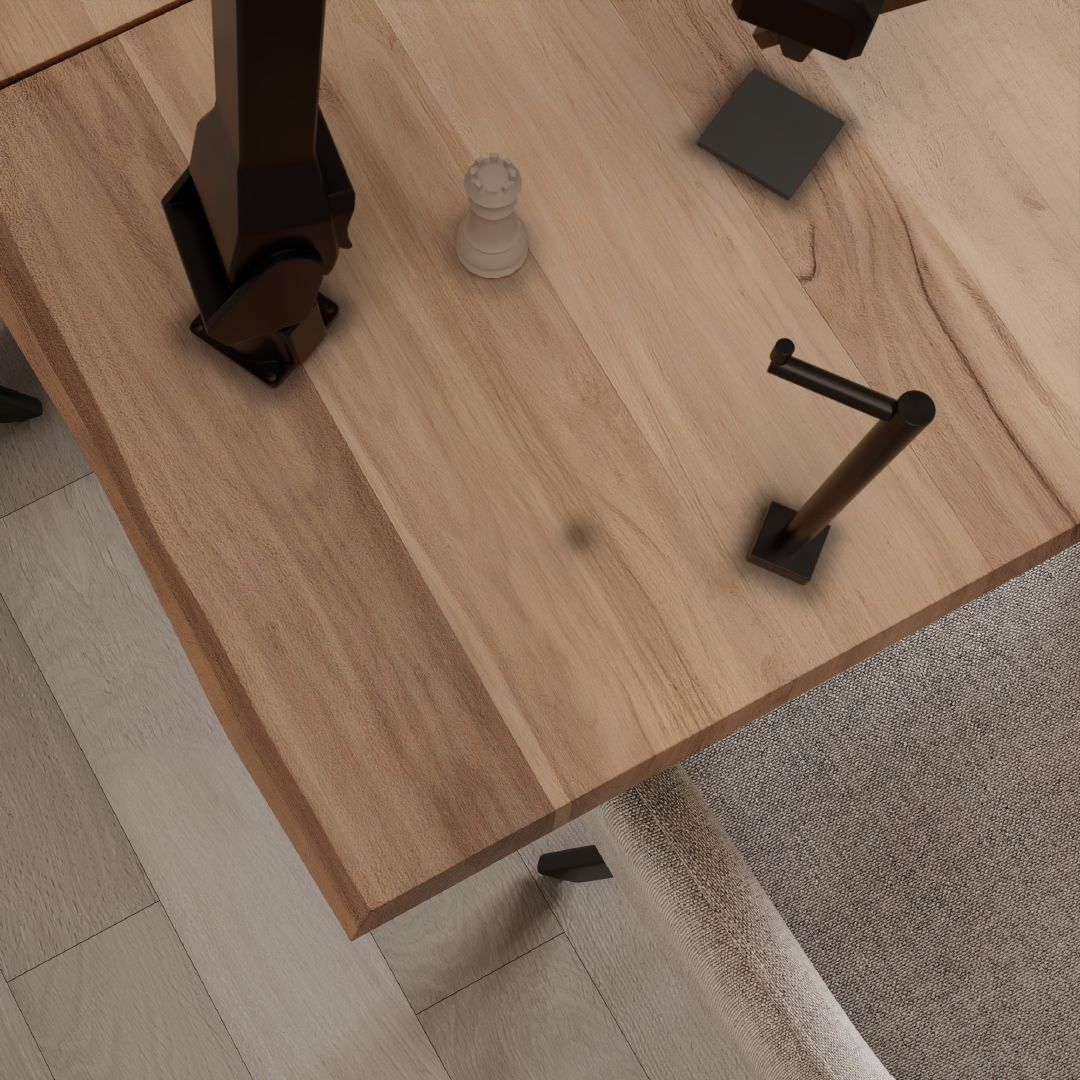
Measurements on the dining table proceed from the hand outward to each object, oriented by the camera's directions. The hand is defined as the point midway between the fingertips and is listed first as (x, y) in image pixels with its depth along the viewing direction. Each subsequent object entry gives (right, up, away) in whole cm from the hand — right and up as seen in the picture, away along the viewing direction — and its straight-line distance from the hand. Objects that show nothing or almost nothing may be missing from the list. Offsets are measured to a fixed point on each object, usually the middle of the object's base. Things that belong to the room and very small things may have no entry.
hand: (815, 7), depth 58 cm
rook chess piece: (-18, -10, +10) cm, 23 cm away
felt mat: (0, -2, +13) cm, 13 cm away
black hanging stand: (-2, -28, +5) cm, 28 cm away
